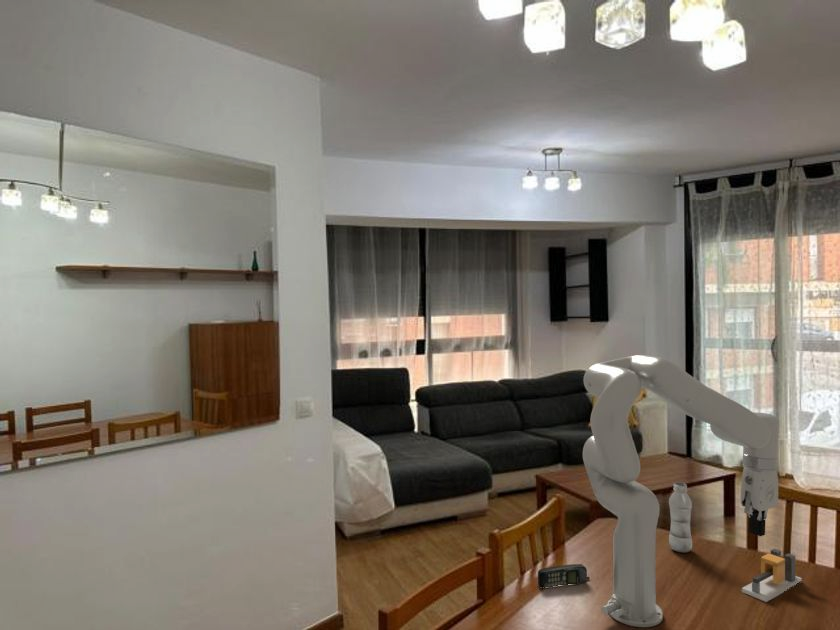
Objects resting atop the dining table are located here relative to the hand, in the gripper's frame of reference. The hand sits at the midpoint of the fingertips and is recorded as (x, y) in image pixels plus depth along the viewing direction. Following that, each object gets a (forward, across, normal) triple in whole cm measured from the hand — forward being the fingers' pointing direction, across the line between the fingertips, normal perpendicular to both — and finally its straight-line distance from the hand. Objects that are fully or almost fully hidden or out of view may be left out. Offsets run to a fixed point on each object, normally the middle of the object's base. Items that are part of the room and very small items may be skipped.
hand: (756, 533), depth 145 cm
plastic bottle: (+16, +8, +25) cm, 31 cm away
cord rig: (+15, +8, -1) cm, 17 cm away
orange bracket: (+13, +8, -1) cm, 15 cm away
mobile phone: (+18, -36, +31) cm, 50 cm away
